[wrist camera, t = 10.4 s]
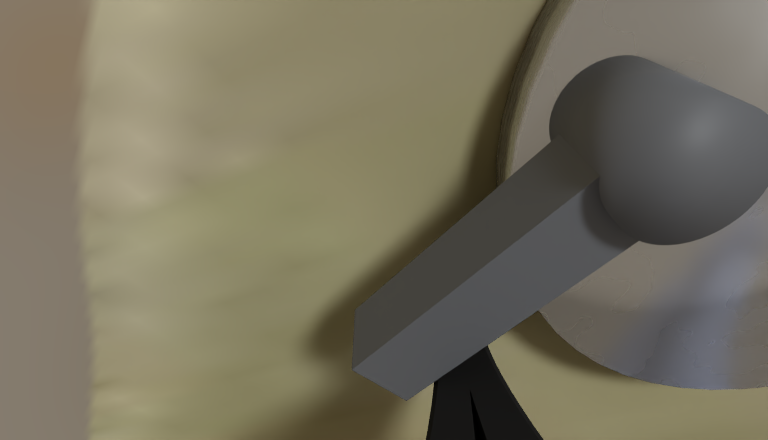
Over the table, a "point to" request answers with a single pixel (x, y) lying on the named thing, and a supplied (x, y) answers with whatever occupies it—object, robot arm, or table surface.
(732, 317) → the levelling disc
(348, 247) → the table surface
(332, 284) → the table surface
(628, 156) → the lever
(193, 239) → the table surface
